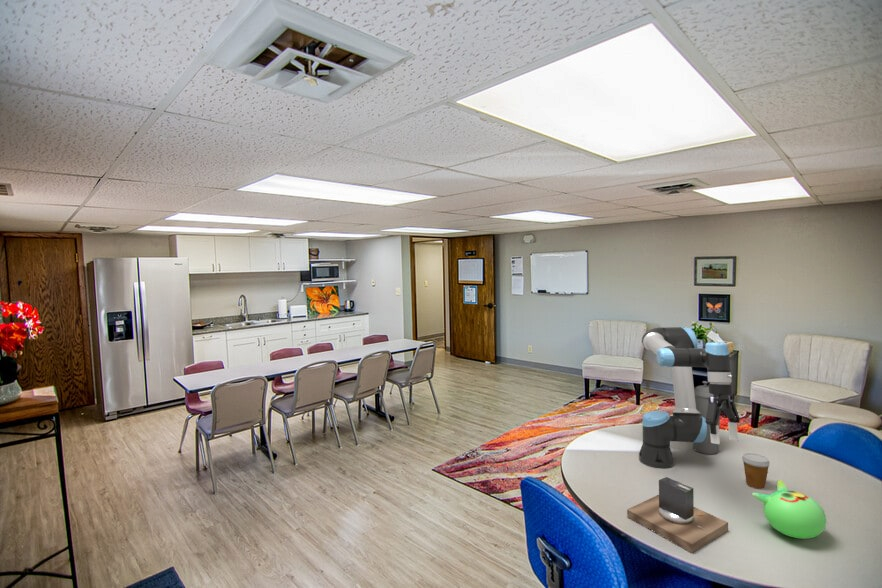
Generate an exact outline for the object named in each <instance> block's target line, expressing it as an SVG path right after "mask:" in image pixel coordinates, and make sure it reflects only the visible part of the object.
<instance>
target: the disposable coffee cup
mask: <svg viewBox="0 0 882 588" xmlns="http://www.w3.org/2000/svg"><path fill="white" fill-rule="evenodd" d="M741 460H742V461H743V469H744V475H745V483H746V485H747V486H748V487H750V488H752V487H753V489H756V490H757V489H758V490H764V489H766V484H767V478H768V473H769V472H768V471H769V467H770V465H771V462H770V460H769V458H768V457H767V456H765V455H762V454H760V453H759V454H758V453H751V452H746V453H743V455H742V457H741Z"/></svg>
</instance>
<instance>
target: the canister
mask: <svg viewBox="0 0 882 588" xmlns="http://www.w3.org/2000/svg"><path fill="white" fill-rule="evenodd" d="M702 384H703V385H697V386H695V387H694V393H695V402H696V409H697V410H698V411H699V412H700V413H701V416H702V417H704V418H705V419H706V415H707V409H708V403H709V399H708V398H709V397H713V394H710V393H709V386H708V385H707V384H709V382H708V380H707V381H706V380H703V381H702ZM712 404H713V403H712ZM720 418H721V415H720V416H719V419H718V423H717V425H719V426H720V422H721V421H720ZM719 446H720V444H714V443H711V436H710V425H709V424H707V435H706V438H705V440H704V441H703V442H694V443H692V448H693V449H694V451H696V452H698V453H701V454H706V455H715V454H718V453H719V448H720V447H719Z"/></svg>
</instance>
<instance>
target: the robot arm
mask: <svg viewBox="0 0 882 588" xmlns="http://www.w3.org/2000/svg"><path fill="white" fill-rule="evenodd" d="M641 343H642V344H641V345H642V346H643V347H644V348H645V349H646V350H647V351H648V352H651V353H653V354H655V355H656V360H657V363H658V365H659V366H660V367H667V368H671V376H672V384H673V386H672V387H673V395H674V405H675V408H674V410H673V411H672V415H670V413H669V412H667V411H662V410H651V411H647V412H645V413H644V414H643V415H642V422H641V426H642V445H641V447H640V450H639V453H638V460H639V461H640V463H642V464H643V465H646V466H649V467H651V468H657V469H658V468H659V469H668V468H672V467H674V466H675V458H674V455H673V452H672V449H671V442H676V443H677V442H681V443H691V444H693V443H694V442H703V441H704V440H705V438H706V435H707V424H709V425H710V436H711V443H714V444H719V445H721V440H720V424H719V425H717V423H718V419H719V416H720V417H721V414H722V412H723V411H724V414H725V416H726V418H727V419H728V422H727V425H728V426H727V427H728V428H727V429H728V436H729V437H728V439H729V440H730V441H735V442H737V441H739V433H738V424H739V423H740V422H741V420H740V416H739V413H738V410H737V406H736V404H735V400H734V396H733V385H732V384H731V383H732V381H733V380H732V377H733V375H732V371H731V358H730V357H731V356H730V348H729V345H728V343H726V342H706V343H705V348H702V347H701V348H698V344H699V343H698V338H697V335H696V332H695V331H694V330H693V329H692V328H690V327H684V326H683V327H682V326H680V327H679V326H677V327H675V326H674V327H667V326H666V327H660V326H659V327H654V328H653V327H652V328H651V329H649V330H647V331H646V332H644V333H643V335H642V337H641ZM693 368H706V369H707V371H706V372H707V382H708V385H707V386H709V393H710V394H713V397H709V398H708V399H709V403H708V409H707V415H706V419H705V418H704V417H702V416H701V413H700V412H699V411H698V410H697V409H696V402H695V393H694V389H695V386H694V385H695V384H694V376H693V375H694V374H693ZM712 403H713V404H712Z"/></svg>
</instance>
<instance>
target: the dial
mask: <svg viewBox="0 0 882 588" xmlns="http://www.w3.org/2000/svg"><path fill="white" fill-rule="evenodd" d="M658 495H659V514H660V515H661V516H662V517H663V518H664V519H666V520H668V521H670V522H673V523H677V524H689V523H692V522H693V520H694V507H695V505H694V504H695V503H694V487H692V486H688V485H686V484H684V483H682V482H680V481H677V480H676V479H672V478H670V477H667V476H664V477H663V478H661V479H658Z"/></svg>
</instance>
